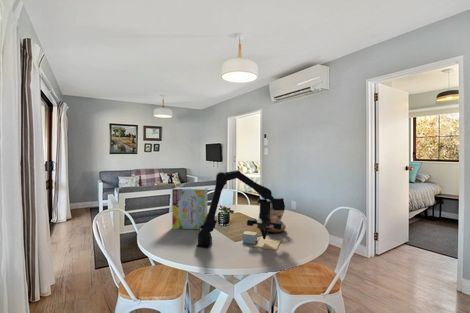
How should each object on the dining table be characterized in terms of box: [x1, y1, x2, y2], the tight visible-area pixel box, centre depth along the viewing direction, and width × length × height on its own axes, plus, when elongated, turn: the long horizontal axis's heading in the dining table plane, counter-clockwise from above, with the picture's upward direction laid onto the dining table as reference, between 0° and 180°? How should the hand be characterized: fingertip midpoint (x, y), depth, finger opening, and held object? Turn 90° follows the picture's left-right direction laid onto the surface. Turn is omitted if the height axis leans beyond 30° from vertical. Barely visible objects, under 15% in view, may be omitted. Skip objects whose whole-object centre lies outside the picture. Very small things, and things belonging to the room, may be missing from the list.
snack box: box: [171, 186, 208, 230], centre depth 158 cm, size 22×9×26 cm, turn 84°
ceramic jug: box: [268, 206, 287, 234], centre depth 155 cm, size 18×14×14 cm
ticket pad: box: [253, 237, 282, 251], centre depth 132 cm, size 12×13×1 cm
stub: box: [242, 230, 258, 245], centre depth 135 cm, size 7×5×5 cm
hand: (264, 239), depth 132 cm, fingers closed
